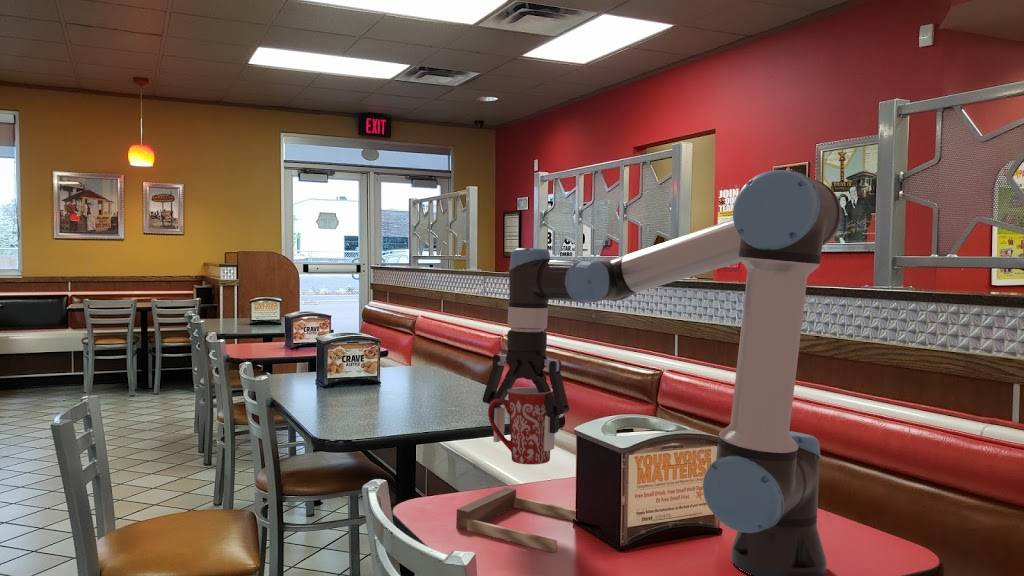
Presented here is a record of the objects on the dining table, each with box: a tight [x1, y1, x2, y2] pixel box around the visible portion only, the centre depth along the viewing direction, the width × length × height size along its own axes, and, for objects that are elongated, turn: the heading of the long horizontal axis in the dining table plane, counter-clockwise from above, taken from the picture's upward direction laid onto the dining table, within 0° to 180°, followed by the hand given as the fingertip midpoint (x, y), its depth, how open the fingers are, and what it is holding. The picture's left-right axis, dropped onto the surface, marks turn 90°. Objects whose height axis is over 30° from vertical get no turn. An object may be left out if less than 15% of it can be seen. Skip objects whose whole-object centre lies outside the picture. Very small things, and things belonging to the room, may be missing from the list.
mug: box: [487, 386, 554, 466], centre depth 142 cm, size 13×9×14 cm
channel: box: [455, 486, 577, 554], centre depth 141 cm, size 21×17×4 cm
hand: (523, 445), depth 142 cm, fingers closed on mug, 10 cm apart
